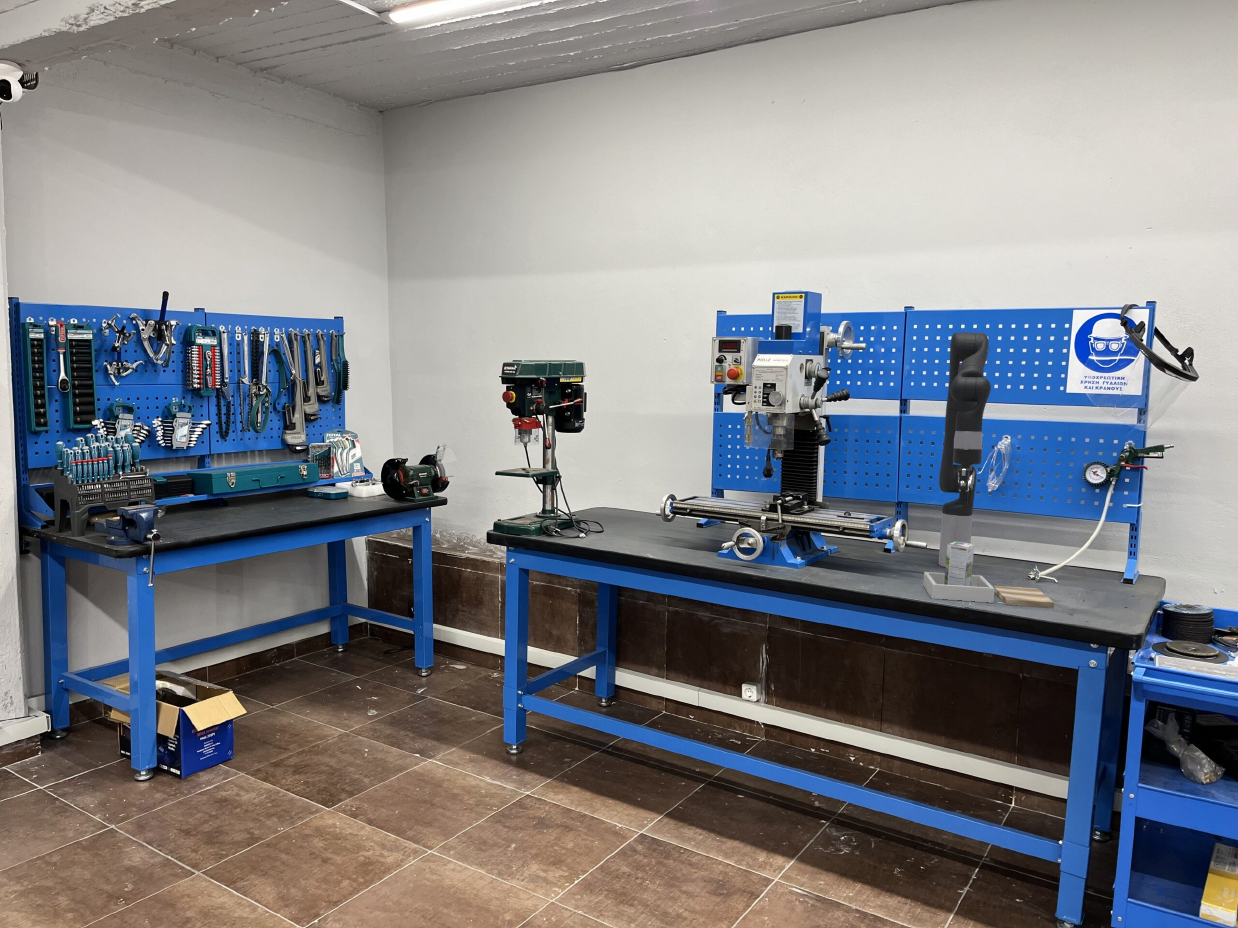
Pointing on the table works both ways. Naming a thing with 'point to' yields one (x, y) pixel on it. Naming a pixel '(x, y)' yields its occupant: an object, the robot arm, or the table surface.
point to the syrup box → (959, 564)
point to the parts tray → (958, 588)
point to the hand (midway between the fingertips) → (965, 503)
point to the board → (1023, 596)
